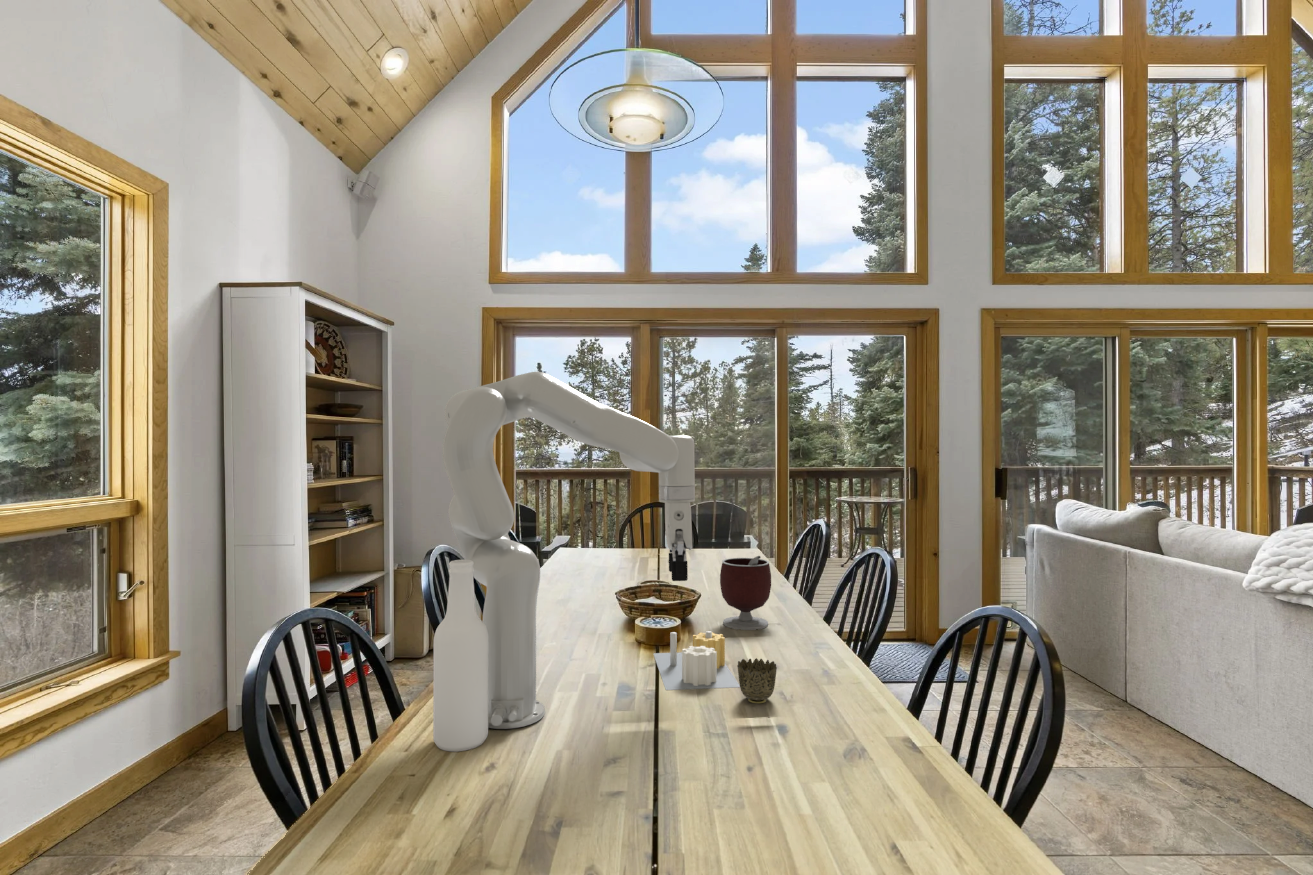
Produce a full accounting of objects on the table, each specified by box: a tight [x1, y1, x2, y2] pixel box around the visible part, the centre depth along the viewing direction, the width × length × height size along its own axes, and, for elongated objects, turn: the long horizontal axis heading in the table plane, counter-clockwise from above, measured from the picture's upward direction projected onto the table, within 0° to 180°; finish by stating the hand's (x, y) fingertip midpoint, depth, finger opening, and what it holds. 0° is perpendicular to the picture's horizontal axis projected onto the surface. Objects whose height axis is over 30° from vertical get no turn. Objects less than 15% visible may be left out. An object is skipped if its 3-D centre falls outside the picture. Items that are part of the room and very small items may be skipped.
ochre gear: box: [692, 631, 726, 669], centre depth 154 cm, size 7×7×6 cm
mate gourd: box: [719, 555, 772, 631], centre depth 192 cm, size 16×14×20 cm
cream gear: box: [681, 645, 717, 686], centre depth 144 cm, size 7×7×6 cm
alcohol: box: [432, 559, 489, 753], centre depth 117 cm, size 9×9×30 cm
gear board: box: [653, 630, 740, 691], centre depth 151 cm, size 24×15×8 cm, turn 6°
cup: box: [736, 657, 777, 704], centre depth 133 cm, size 8×7×8 cm
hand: (677, 575), depth 148 cm, fingers open, 9 cm apart
